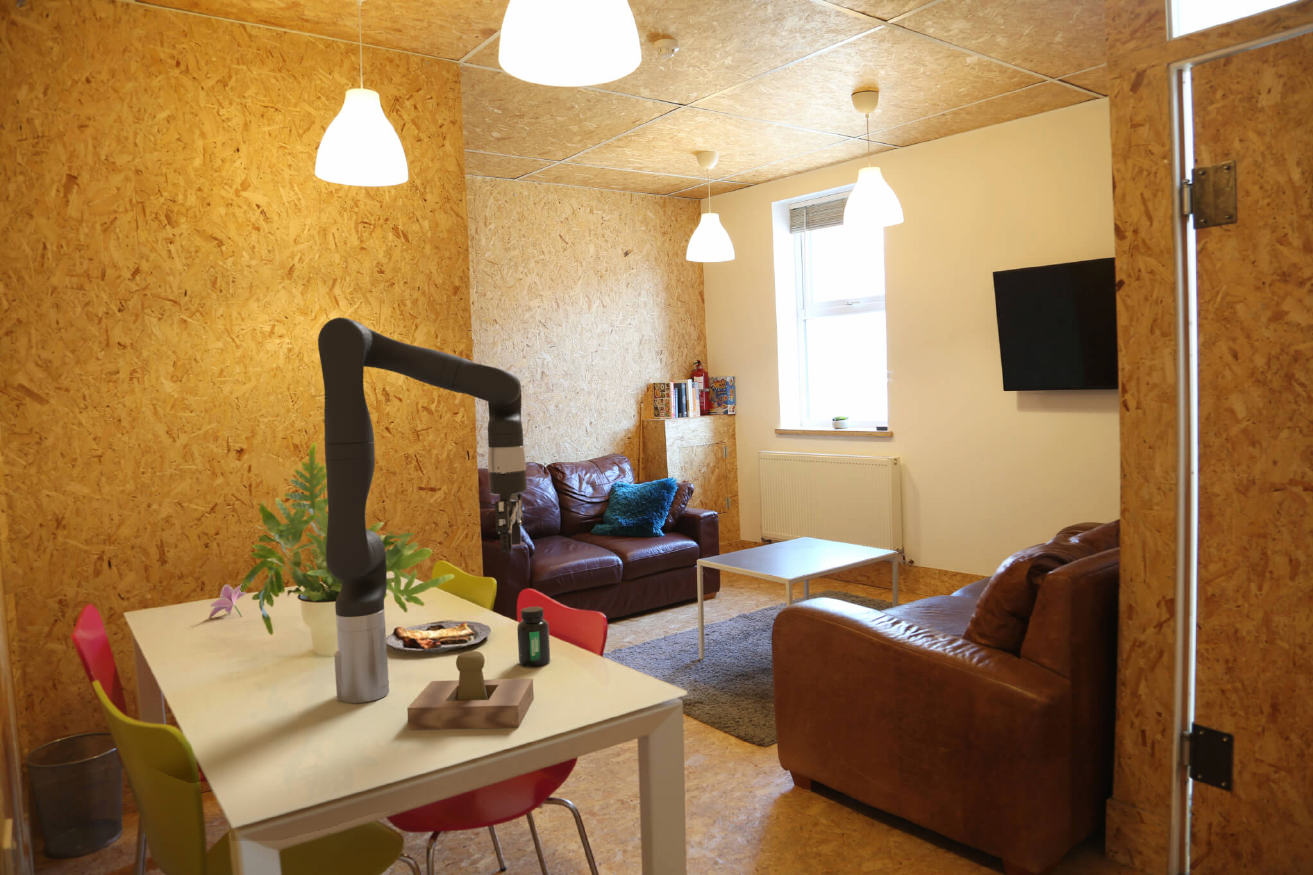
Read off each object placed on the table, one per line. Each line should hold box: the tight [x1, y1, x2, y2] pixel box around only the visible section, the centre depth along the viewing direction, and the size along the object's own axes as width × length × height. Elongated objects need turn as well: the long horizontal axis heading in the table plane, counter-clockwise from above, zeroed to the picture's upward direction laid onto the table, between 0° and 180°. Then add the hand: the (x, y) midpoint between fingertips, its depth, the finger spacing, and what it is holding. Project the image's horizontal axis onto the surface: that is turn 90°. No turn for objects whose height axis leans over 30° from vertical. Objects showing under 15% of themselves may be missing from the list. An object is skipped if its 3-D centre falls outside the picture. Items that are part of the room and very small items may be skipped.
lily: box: [208, 583, 247, 619], centre depth 241 cm, size 12×12×10 cm
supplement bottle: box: [516, 606, 551, 668], centre depth 188 cm, size 7×7×12 cm
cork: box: [455, 650, 488, 701], centre depth 159 cm, size 6×6×11 cm
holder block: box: [407, 678, 535, 731], centre depth 159 cm, size 20×14×4 cm
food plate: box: [386, 619, 492, 654], centre depth 207 cm, size 25×23×4 cm
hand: (511, 547), depth 174 cm, fingers open, 8 cm apart
